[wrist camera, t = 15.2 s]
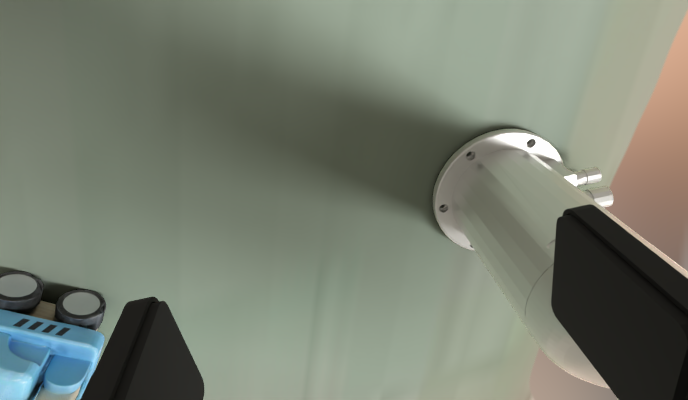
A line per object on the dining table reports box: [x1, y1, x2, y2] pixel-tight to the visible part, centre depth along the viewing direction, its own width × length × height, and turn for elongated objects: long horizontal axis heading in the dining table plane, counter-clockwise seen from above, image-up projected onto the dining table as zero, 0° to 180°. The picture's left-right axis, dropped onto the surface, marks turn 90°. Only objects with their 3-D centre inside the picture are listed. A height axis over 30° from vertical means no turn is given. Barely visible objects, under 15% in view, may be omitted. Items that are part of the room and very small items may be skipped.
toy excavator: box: [0, 271, 106, 400], centre depth 37 cm, size 9×17×17 cm, turn 64°
